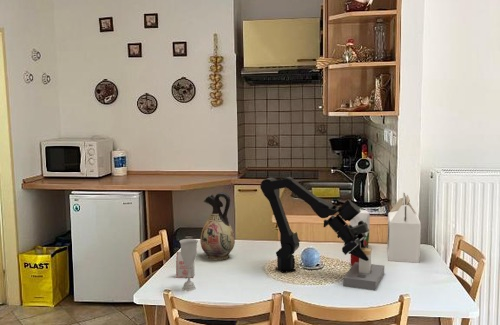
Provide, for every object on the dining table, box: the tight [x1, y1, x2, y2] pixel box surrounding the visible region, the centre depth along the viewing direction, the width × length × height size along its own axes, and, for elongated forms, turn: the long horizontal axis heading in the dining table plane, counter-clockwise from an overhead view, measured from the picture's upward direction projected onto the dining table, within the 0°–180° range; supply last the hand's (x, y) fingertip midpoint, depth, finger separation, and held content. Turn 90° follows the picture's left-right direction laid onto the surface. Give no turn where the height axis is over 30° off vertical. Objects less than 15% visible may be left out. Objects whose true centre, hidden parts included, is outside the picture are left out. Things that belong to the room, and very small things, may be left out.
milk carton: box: [349, 206, 371, 248], centre depth 260 cm, size 9×9×20 cm
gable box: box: [386, 192, 422, 264], centre depth 248 cm, size 22×13×28 cm, turn 167°
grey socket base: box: [342, 262, 385, 291], centre depth 213 cm, size 12×22×4 cm, turn 158°
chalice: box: [179, 238, 199, 292], centre depth 202 cm, size 7×7×18 cm
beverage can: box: [350, 237, 367, 267], centre depth 232 cm, size 7×7×12 cm
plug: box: [359, 247, 372, 274], centre depth 213 cm, size 4×4×11 cm
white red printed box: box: [175, 251, 195, 279], centre depth 216 cm, size 4×7×10 cm, turn 88°
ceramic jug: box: [199, 191, 236, 261], centre depth 242 cm, size 17×15×30 cm
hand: (368, 258), depth 212 cm, fingers closed on plug, 4 cm apart
